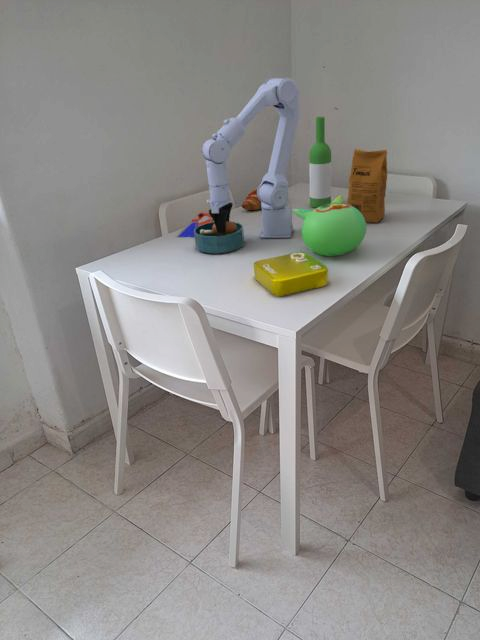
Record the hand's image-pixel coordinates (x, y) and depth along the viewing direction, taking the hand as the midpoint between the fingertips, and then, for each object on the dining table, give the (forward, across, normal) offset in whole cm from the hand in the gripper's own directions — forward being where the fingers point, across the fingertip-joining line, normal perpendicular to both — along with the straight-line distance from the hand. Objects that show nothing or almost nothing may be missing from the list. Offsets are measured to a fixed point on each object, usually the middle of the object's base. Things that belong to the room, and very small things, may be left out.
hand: (223, 230), depth 149 cm
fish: (+5, -16, -11) cm, 20 cm away
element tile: (+5, +26, +23) cm, 35 cm away
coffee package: (+5, -26, +43) cm, 50 cm away
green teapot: (+5, +6, +33) cm, 34 cm away
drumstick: (+1, 0, -2) cm, 2 cm away
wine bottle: (+5, -42, +27) cm, 51 cm away
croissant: (+5, -44, +5) cm, 45 cm away
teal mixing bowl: (+5, 0, -2) cm, 5 cm away
